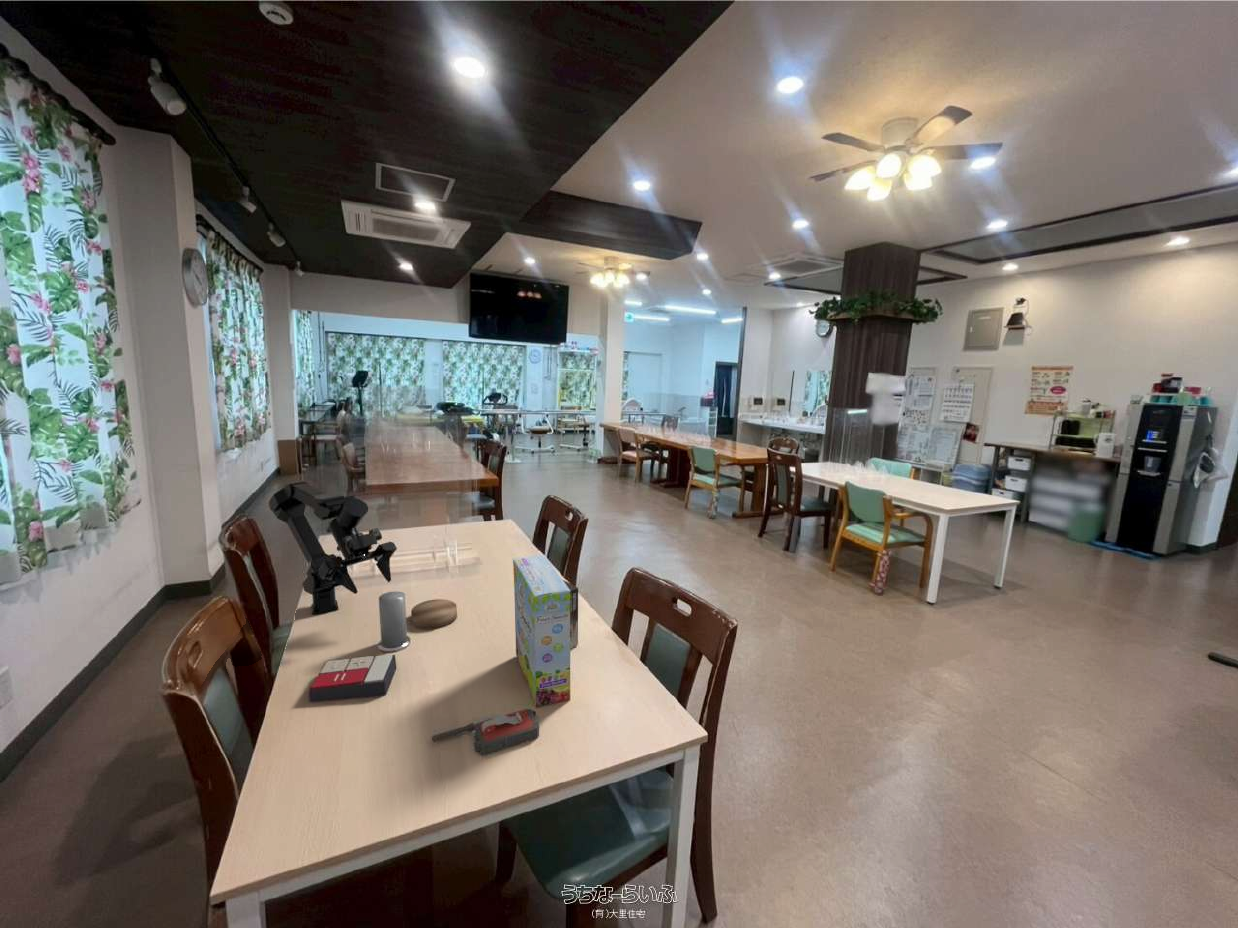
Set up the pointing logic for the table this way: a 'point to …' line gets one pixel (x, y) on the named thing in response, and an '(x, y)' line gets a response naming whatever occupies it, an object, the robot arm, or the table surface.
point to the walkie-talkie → (499, 731)
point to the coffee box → (573, 614)
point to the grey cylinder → (393, 622)
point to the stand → (434, 614)
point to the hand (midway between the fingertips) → (373, 586)
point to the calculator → (353, 678)
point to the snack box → (542, 629)
